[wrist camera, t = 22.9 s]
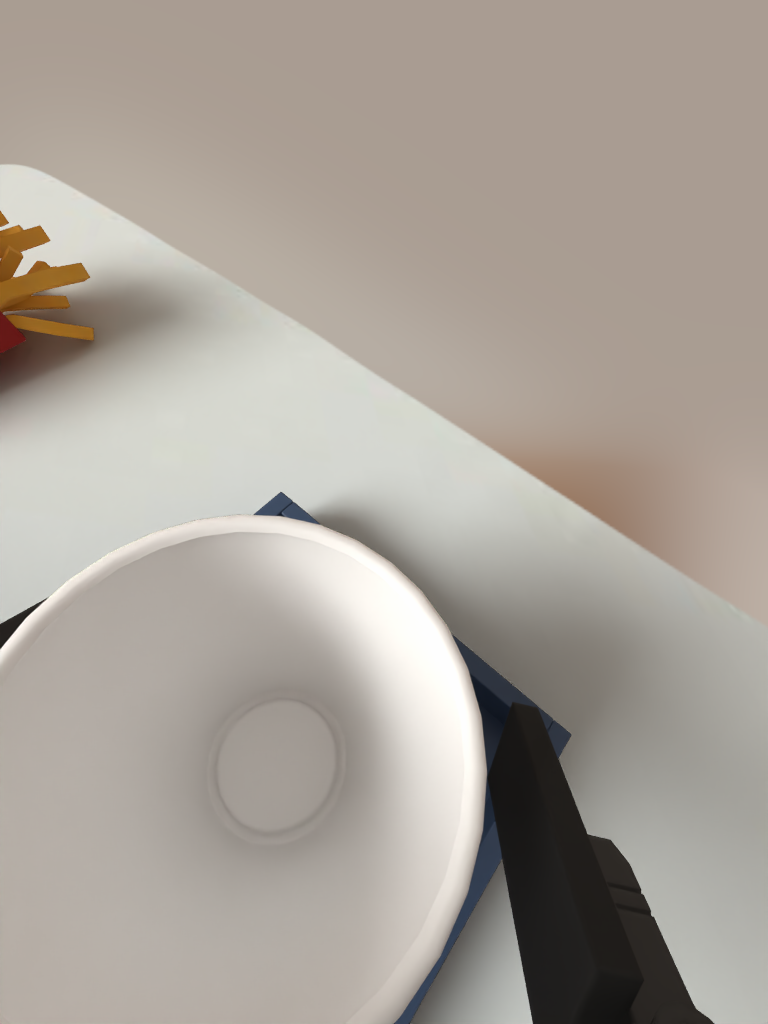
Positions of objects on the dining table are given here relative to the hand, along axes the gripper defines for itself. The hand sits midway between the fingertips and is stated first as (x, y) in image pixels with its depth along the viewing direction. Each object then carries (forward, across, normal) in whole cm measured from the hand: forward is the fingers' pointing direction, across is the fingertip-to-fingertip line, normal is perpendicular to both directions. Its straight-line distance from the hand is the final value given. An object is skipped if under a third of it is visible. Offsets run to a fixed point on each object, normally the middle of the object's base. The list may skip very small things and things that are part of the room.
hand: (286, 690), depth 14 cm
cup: (+3, 0, -6) cm, 7 cm away
